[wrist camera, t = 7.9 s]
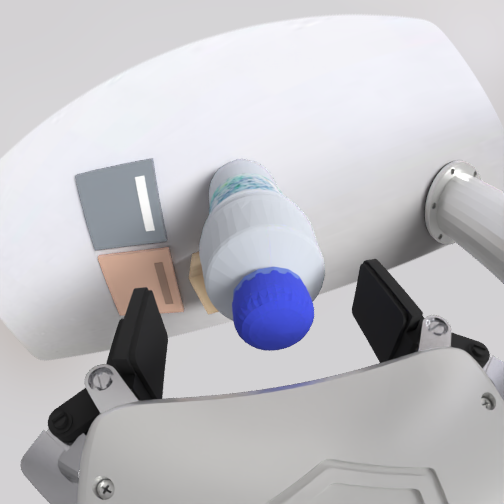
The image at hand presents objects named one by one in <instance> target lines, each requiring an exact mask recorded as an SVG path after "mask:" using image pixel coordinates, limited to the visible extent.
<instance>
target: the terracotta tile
mask: <svg viewBox="0 0 504 504" xmlns="http://www.w3.org/2000/svg"><path fill="white" fill-rule="evenodd" d="M98 260H99V263H100V266H101V269H102V272H103V274H104V277H105V280H106V282H107V285H108V288H109V290H110V293H111V295H112V298H113V300H114V302H115V305H116V307H117V310H118V312H119V314H120V316H123V315H125V314H126V311H127V308H128V305H129V302H130V299H131V296H132V293H133V290H134V289H135V288H143V287H147V288H148V290H152V291H153V294H154V297H155V300H156V303H157V306H158V309H159V312H160V313H173V312H184V307H183V303H182V299H181V295H180V291H179V288H178V284H177V279H176V275H175V271H174V267H173V263H172V258H171V254H170V249H169V247H164V248H155V249H147V250H138V251H130V252H121V253H113V254H104V255H99V256H98Z"/></svg>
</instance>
